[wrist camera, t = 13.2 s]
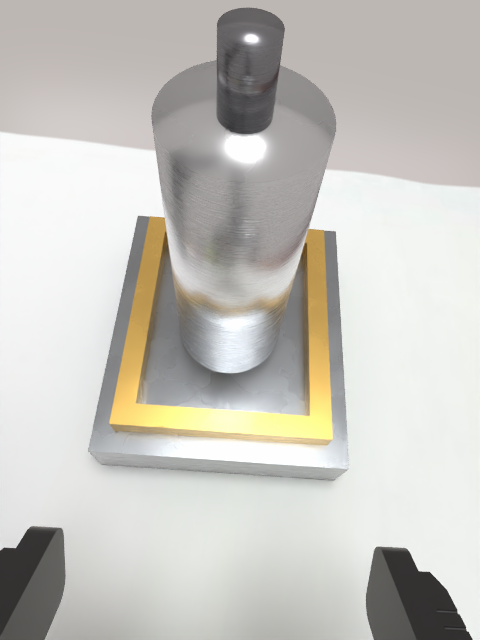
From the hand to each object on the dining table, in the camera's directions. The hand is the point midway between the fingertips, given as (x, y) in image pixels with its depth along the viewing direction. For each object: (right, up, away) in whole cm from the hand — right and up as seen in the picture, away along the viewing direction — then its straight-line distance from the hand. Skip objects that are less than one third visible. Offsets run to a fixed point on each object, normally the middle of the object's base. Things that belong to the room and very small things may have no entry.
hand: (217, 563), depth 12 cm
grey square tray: (0, +4, +15) cm, 16 cm away
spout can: (0, +6, +13) cm, 14 cm away
